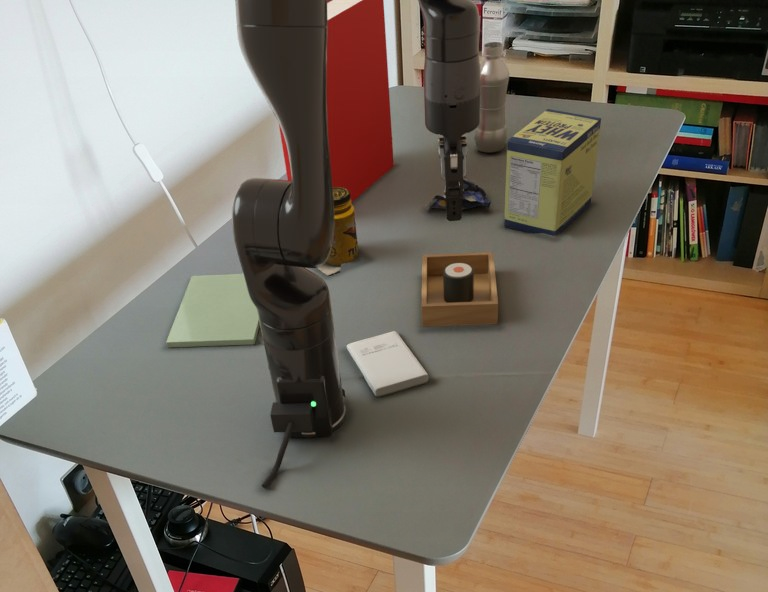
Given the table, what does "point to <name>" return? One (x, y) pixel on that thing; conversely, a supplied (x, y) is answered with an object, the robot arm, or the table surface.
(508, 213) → the protein box
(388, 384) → the hard drive
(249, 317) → the sushi plate
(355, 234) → the condiment
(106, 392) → the table surface
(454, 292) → the sushi roll
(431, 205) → the snack package
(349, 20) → the book
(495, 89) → the plastic bottle
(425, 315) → the bento box
